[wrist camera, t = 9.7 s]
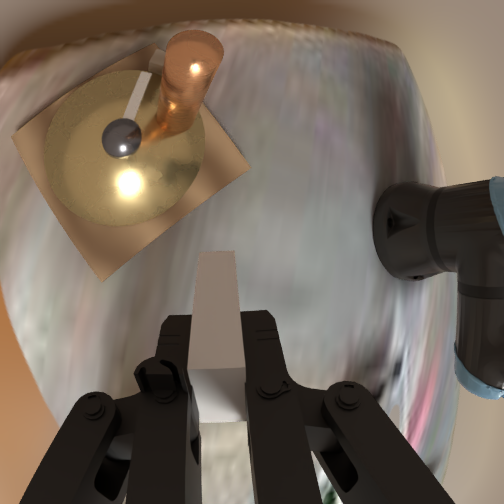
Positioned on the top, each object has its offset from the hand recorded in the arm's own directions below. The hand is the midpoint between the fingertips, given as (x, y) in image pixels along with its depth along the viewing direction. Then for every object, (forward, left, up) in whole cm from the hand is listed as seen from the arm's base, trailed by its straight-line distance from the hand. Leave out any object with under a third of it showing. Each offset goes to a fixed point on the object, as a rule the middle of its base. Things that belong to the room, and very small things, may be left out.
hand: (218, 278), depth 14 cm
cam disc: (-2, -13, -18) cm, 22 cm away
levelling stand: (-2, -13, -20) cm, 24 cm away
